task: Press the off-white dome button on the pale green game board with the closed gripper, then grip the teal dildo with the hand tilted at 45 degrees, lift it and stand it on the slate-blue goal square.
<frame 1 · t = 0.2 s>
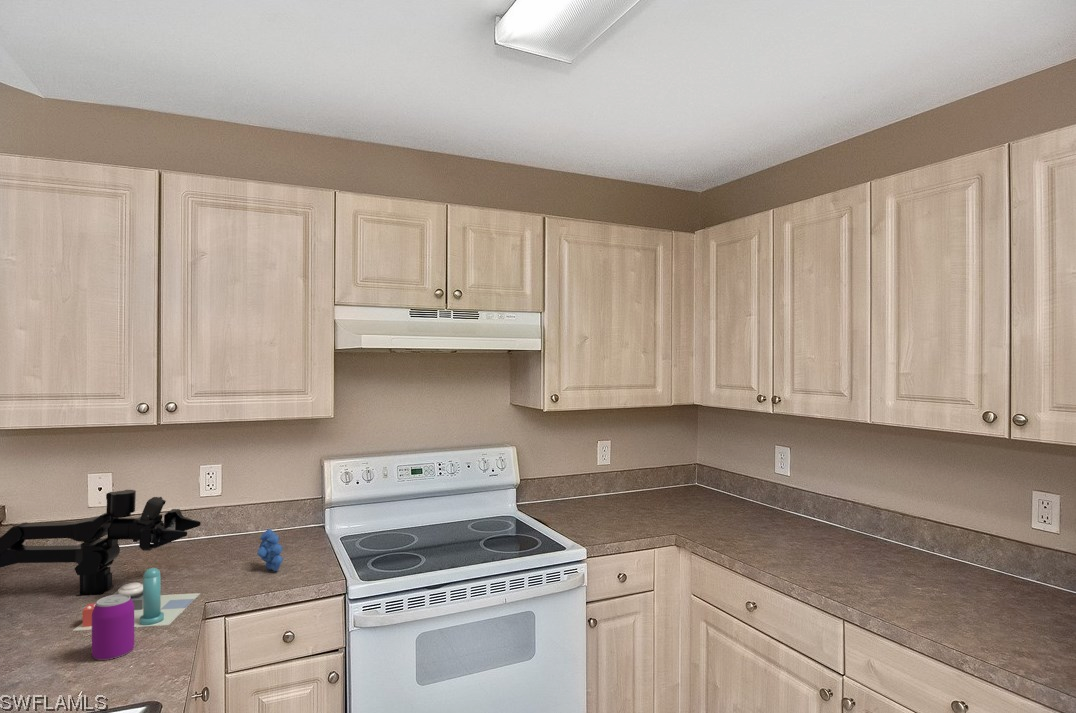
hand: (193, 528, 175), 16 cm above the worktop, tool horizontal, fingers open, 9 cm apart
dome: (131, 589, 163), point 4 cm above the worktop, slide at 0.0 cm
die: (95, 622, 152), resting on board
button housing: (131, 603, 163), resting on board
teal dildo: (151, 620, 153), resting on board
grapes: (268, 571, 189), on the worktop
beverage can: (113, 655, 137), on the worktop
board: (141, 612, 159), on the worktop
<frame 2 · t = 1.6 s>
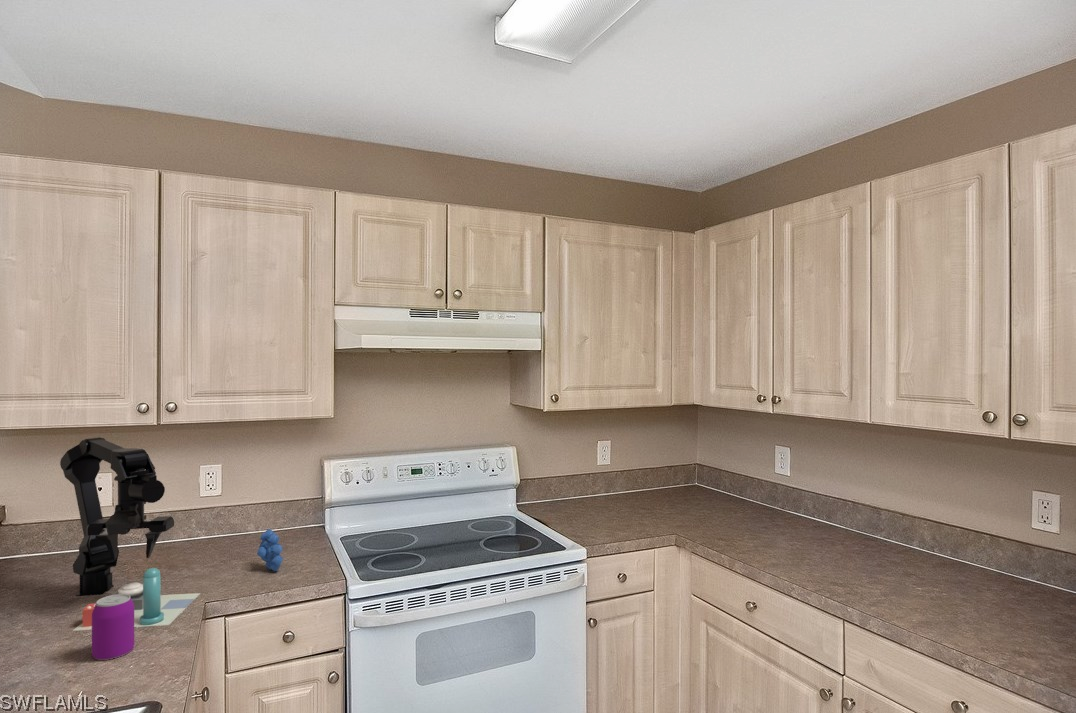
hand: (131, 558, 163), 12 cm above the worktop, tool pointing down, fingers open, 8 cm apart
nothing on the worktop moved.
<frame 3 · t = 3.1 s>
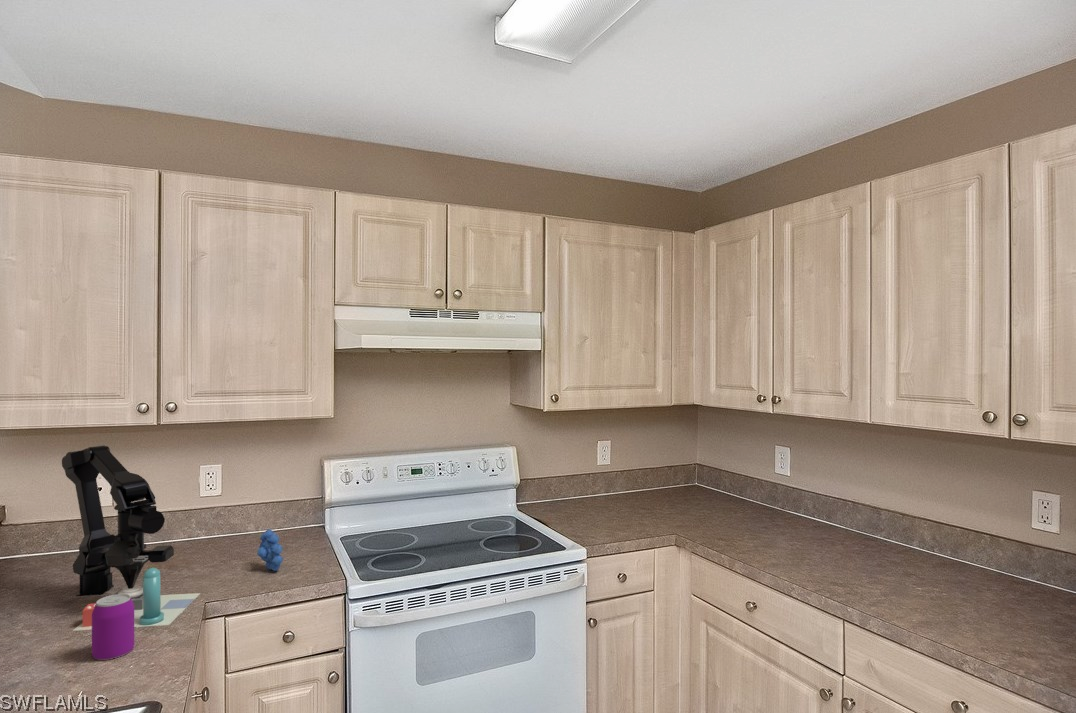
hand: (131, 588, 163), 4 cm above the worktop, tool pointing down, fingers closed, pressing on dome
dome: (131, 591, 163), point 3 cm above the worktop, slide at 0.7 cm, touching gripper
everything else where it was.
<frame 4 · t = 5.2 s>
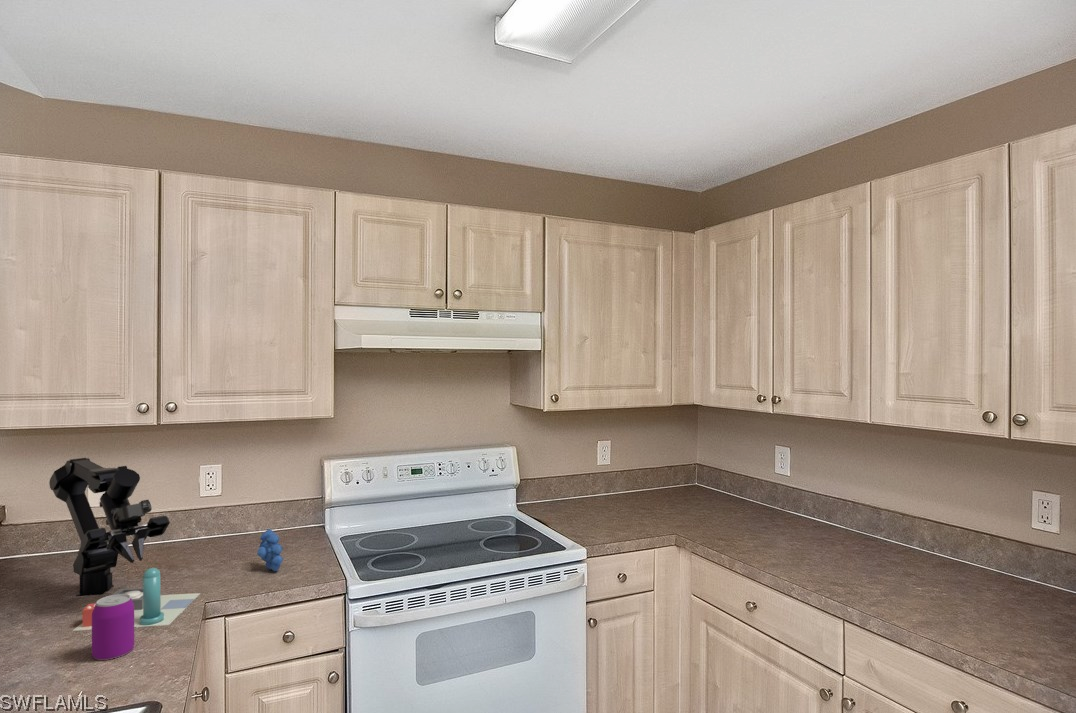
hand: (137, 560, 157), 13 cm above the worktop, tool tilted 45°, fingers closed
dome: (131, 597, 163), point 2 cm above the worktop, slide at 2.2 cm
everything else where it was.
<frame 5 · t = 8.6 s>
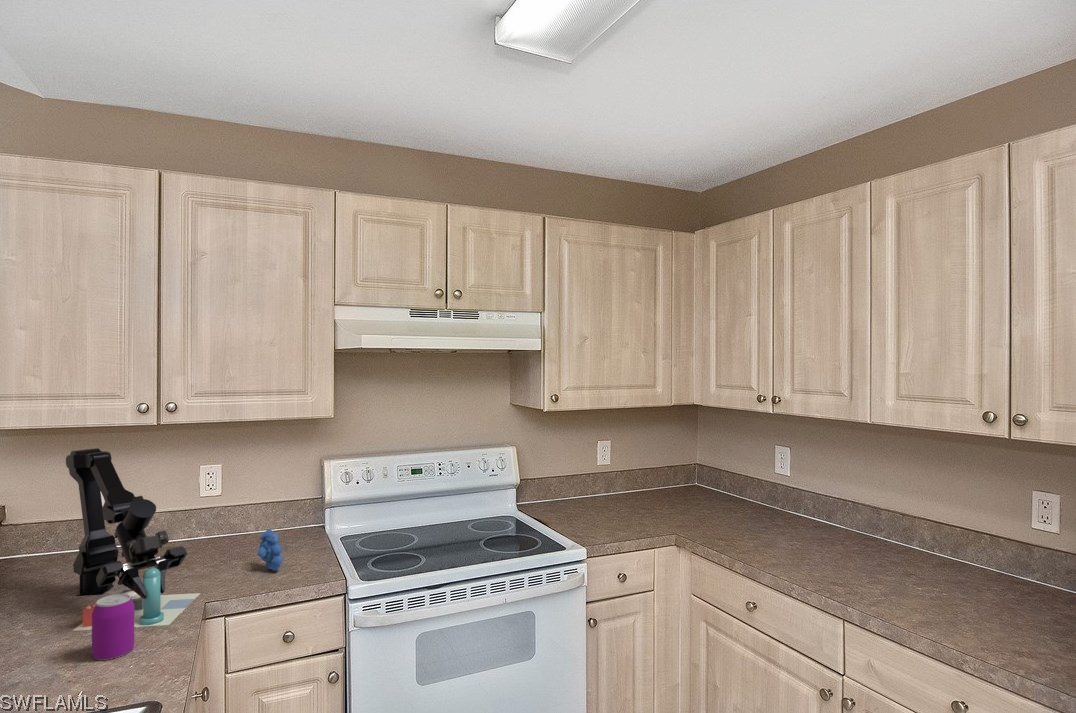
hand: (154, 595, 152), 7 cm above the worktop, tool tilted 45°, fingers closed on teal dildo, 4 cm apart
teal dildo: (151, 620, 153), resting on board, touching gripper
everything else where it was.
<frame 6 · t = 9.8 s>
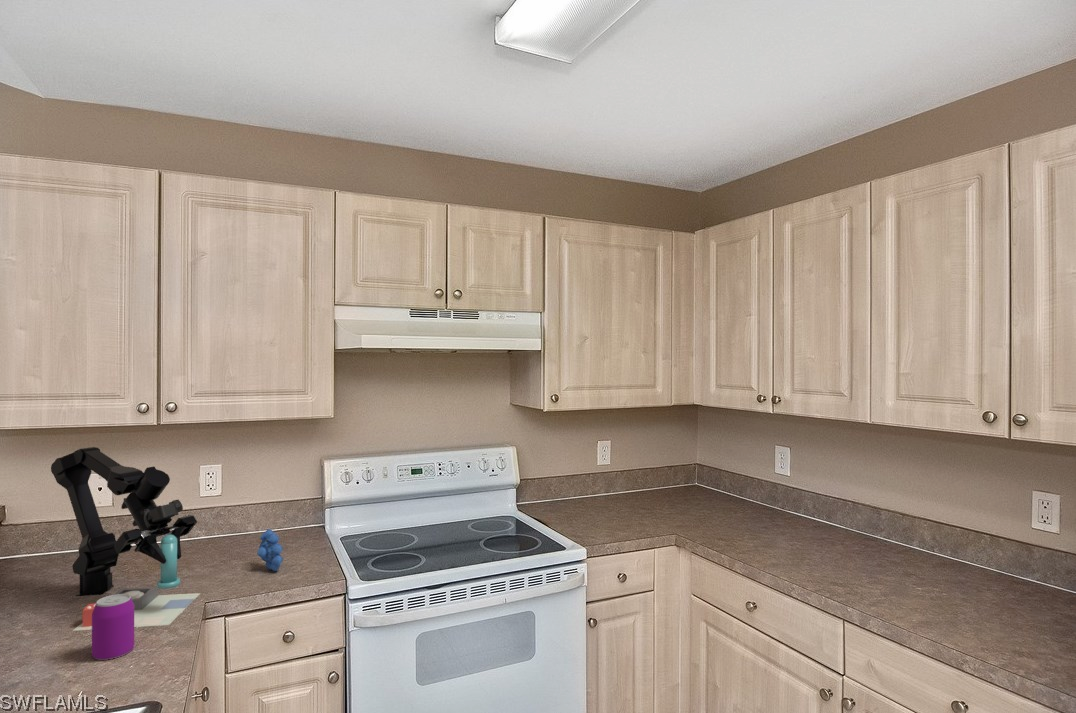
hand: (172, 560, 158), 13 cm above the worktop, tool tilted 45°, fingers closed on teal dildo, 4 cm apart
teal dildo: (168, 585, 159), point 7 cm above the worktop, touching gripper
everything else where it was.
when the fingers open (8 cm above the worktop, at t = 11.4 s): teal dildo stays where it is, resting on board.
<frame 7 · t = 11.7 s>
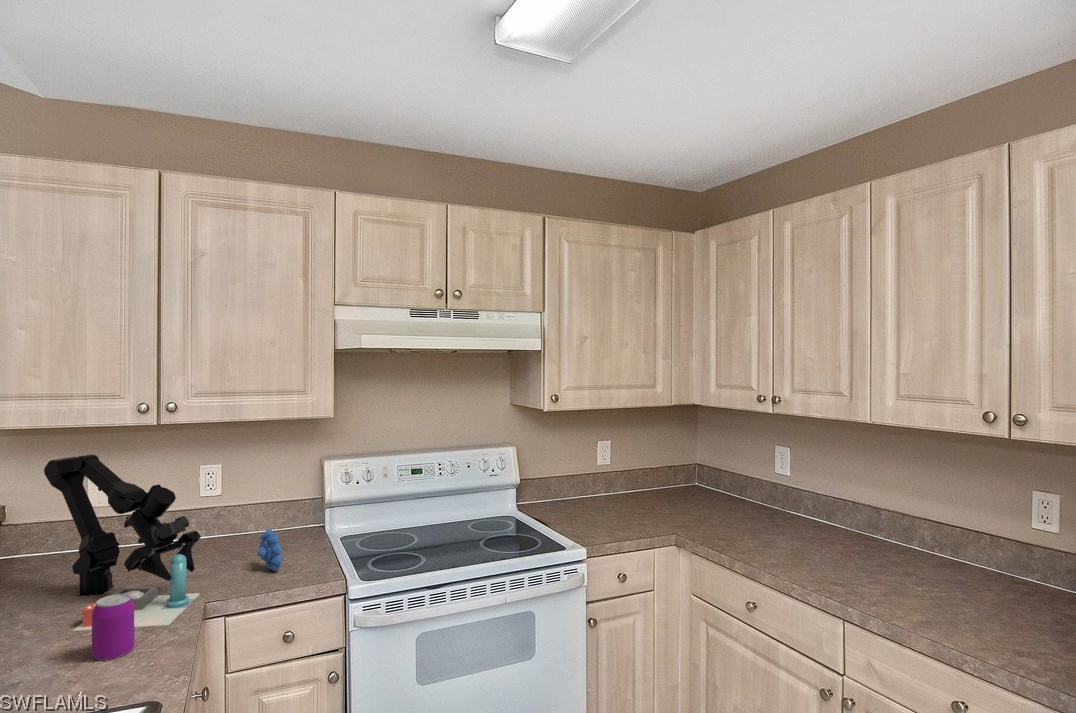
hand: (181, 575, 162), 8 cm above the worktop, tool tilted 45°, fingers open, 7 cm apart
teal dildo: (177, 603, 163), resting on board
everything else where it was.
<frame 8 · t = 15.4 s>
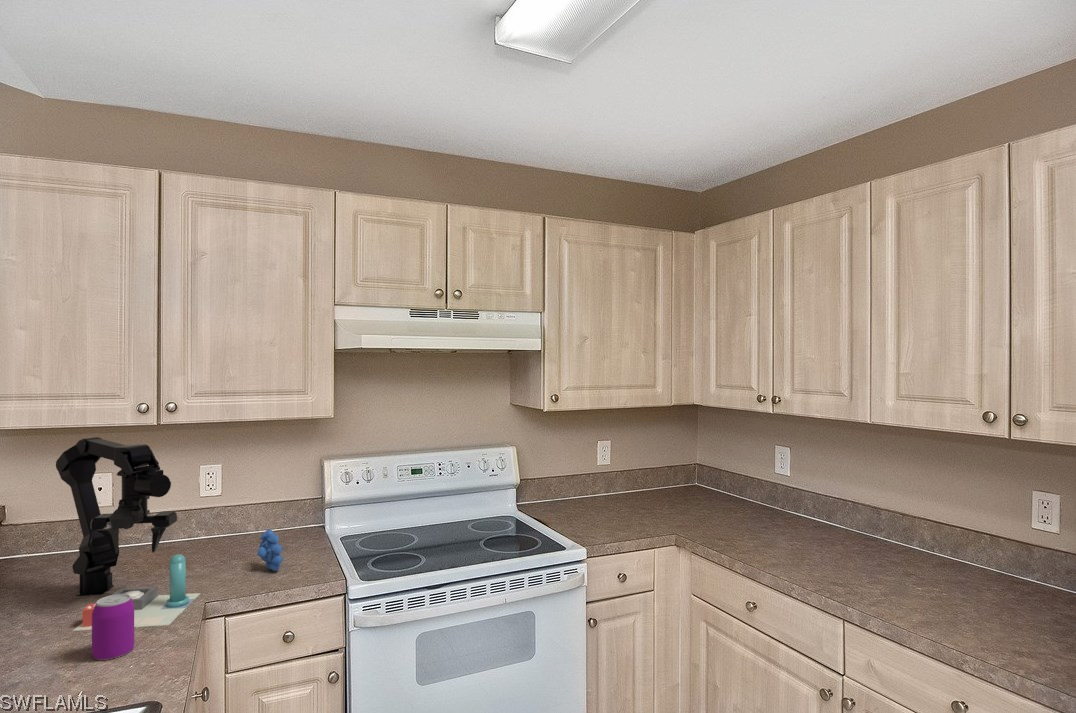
hand: (134, 552, 165), 13 cm above the worktop, tool pointing down, fingers open, 9 cm apart
nothing on the worktop moved.
at the end: teal dildo inside the target area (0.0 cm from its centre), resting on board; teal dildo tilted 0°; dome slide at 2.2 cm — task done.
